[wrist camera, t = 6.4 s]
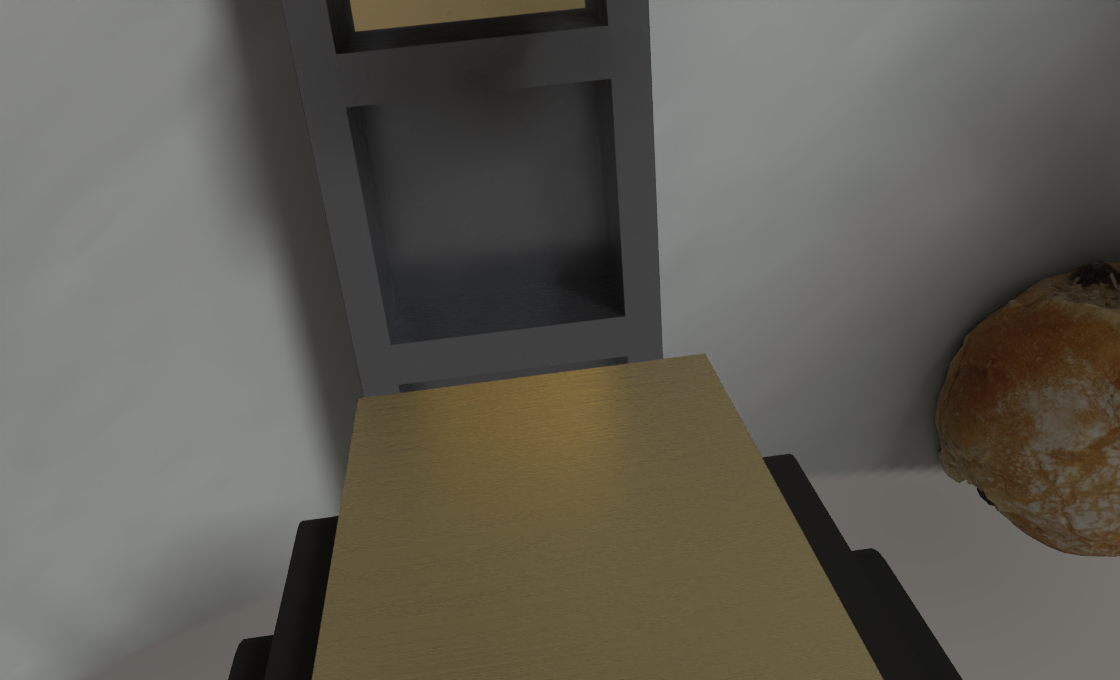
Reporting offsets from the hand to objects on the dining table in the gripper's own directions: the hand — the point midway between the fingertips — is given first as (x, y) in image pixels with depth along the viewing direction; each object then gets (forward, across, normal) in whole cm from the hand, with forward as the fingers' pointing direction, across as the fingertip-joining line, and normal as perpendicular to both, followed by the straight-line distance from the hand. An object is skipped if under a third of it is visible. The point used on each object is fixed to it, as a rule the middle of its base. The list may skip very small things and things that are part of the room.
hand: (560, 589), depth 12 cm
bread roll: (+18, -19, +10) cm, 28 cm away
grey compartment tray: (+18, 0, 0) cm, 18 cm away
